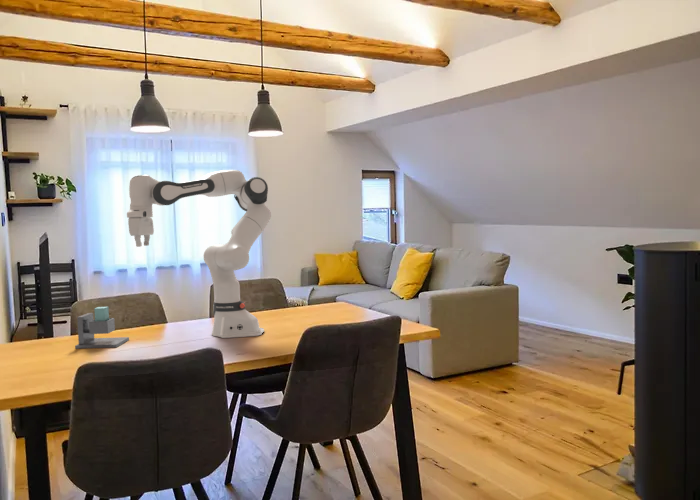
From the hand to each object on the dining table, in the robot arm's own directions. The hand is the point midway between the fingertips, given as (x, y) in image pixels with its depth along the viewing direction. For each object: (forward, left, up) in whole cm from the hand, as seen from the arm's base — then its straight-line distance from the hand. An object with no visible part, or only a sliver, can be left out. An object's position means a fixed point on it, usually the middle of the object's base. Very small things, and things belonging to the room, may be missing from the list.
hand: (142, 246), depth 238 cm
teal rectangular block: (+14, +11, -33) cm, 38 cm away
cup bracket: (+14, +11, -39) cm, 43 cm away
